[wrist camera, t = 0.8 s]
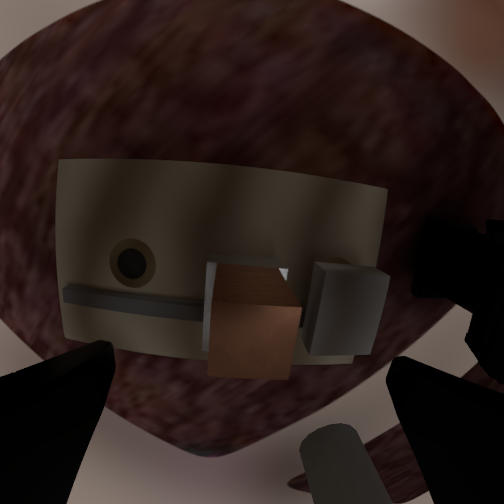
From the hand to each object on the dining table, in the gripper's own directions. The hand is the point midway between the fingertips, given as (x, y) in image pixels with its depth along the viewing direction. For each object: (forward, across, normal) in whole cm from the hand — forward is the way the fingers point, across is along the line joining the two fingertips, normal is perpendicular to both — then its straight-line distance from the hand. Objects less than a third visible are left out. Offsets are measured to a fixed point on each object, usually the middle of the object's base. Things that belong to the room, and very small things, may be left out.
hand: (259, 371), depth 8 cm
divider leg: (+10, 0, +1) cm, 10 cm away
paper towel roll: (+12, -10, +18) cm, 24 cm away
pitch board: (+12, +2, 0) cm, 12 cm away
